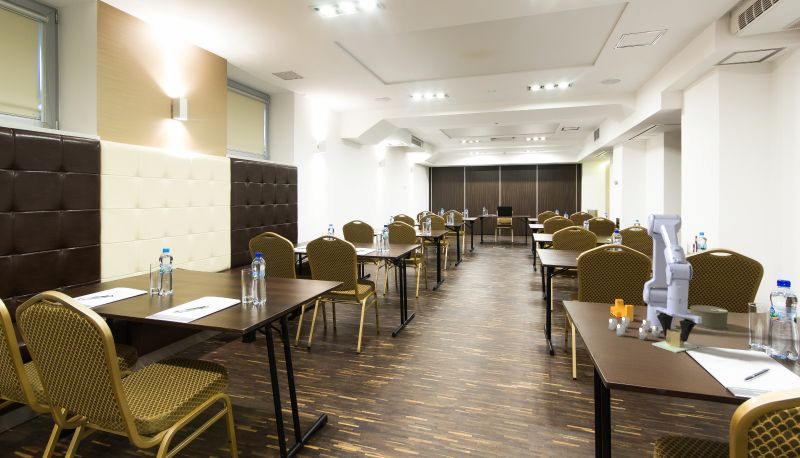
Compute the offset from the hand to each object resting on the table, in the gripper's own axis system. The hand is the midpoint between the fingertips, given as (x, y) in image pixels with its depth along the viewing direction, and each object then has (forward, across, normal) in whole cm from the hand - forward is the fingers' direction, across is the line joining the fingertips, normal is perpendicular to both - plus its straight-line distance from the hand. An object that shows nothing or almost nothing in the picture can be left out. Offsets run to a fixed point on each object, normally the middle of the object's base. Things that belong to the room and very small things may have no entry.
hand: (675, 338), depth 136 cm
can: (+3, -10, +36) cm, 38 cm away
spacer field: (+3, -15, 0) cm, 15 cm away
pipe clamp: (+3, -32, +15) cm, 35 cm away
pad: (+3, 0, 0) cm, 3 cm away
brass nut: (+2, 0, 0) cm, 2 cm away
